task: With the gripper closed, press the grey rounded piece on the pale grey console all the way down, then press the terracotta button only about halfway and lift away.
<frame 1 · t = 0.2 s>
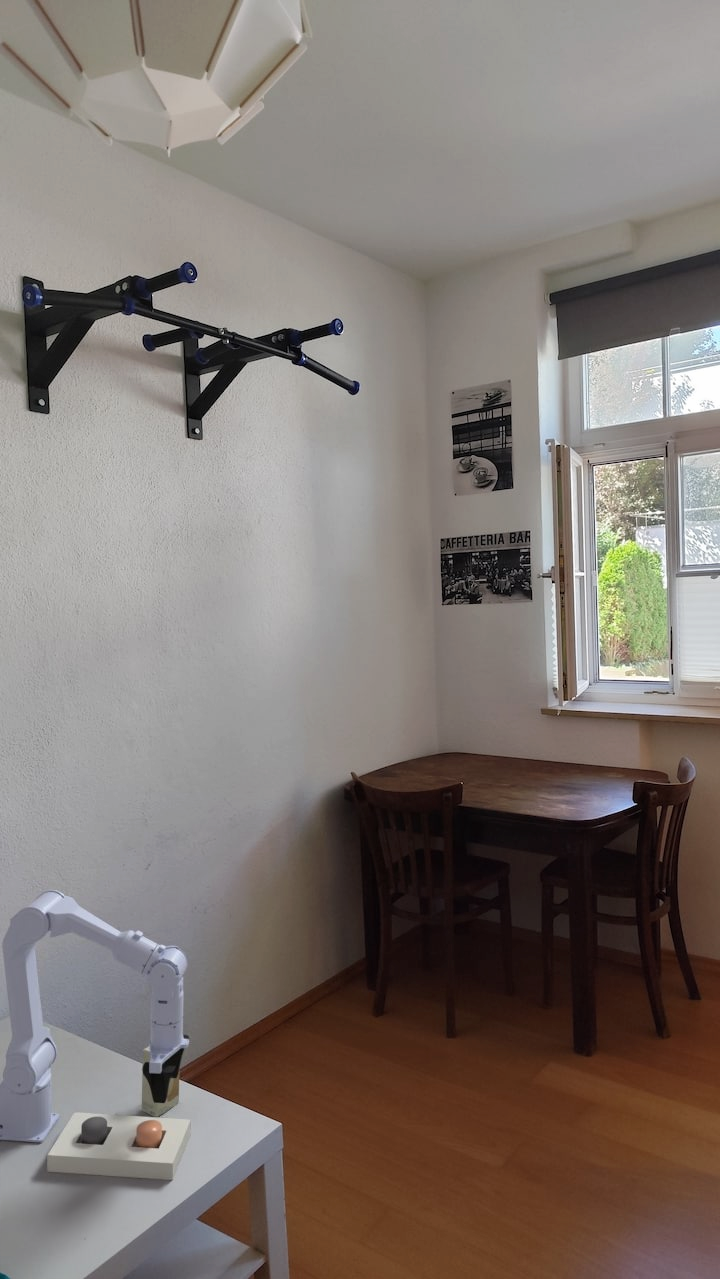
hand: (165, 1089, 156), 10 cm above the table, tool pointing down, fingers open, 7 cm apart
console: (121, 1152, 153), on the table
terracotta button: (149, 1135, 153), point 4 cm above the table, slide at 0.0 cm
grey rounded piece: (94, 1132, 153), point 4 cm above the table, slide at 0.0 cm
skincare box: (160, 1107, 167), on the table
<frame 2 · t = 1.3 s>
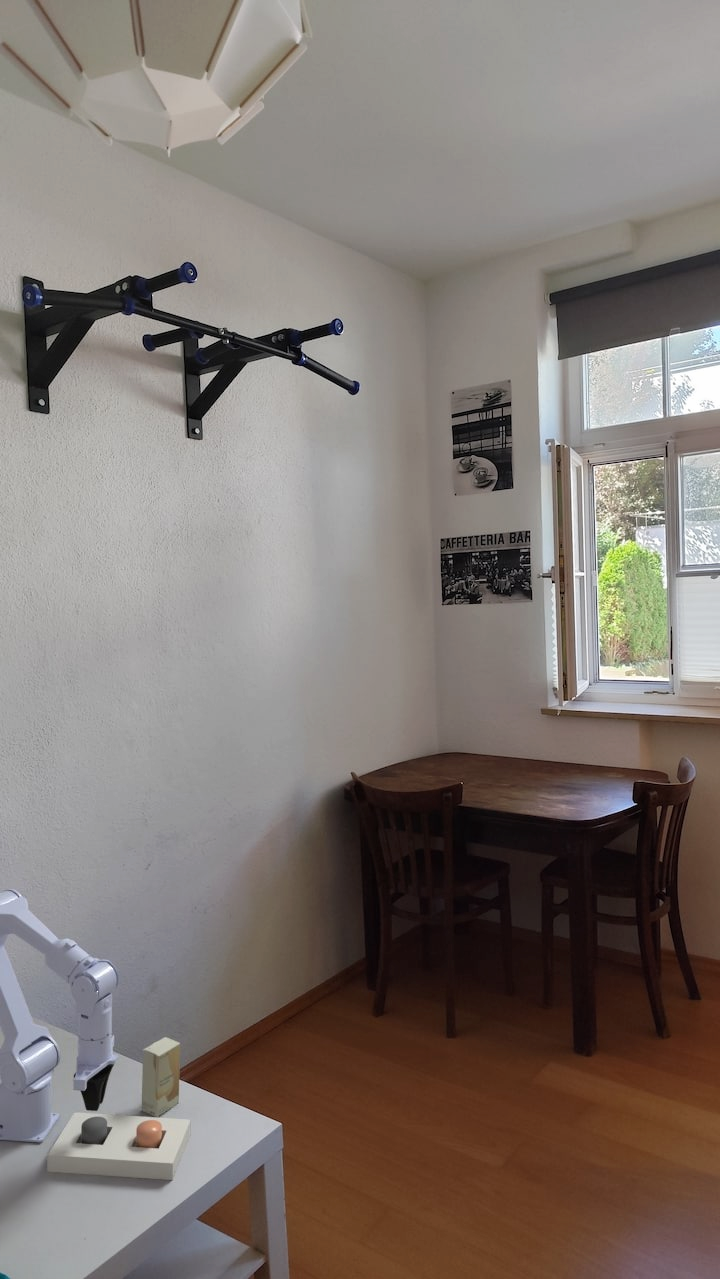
hand: (94, 1105, 153), 8 cm above the table, tool pointing down, fingers closed
nothing on the table moved.
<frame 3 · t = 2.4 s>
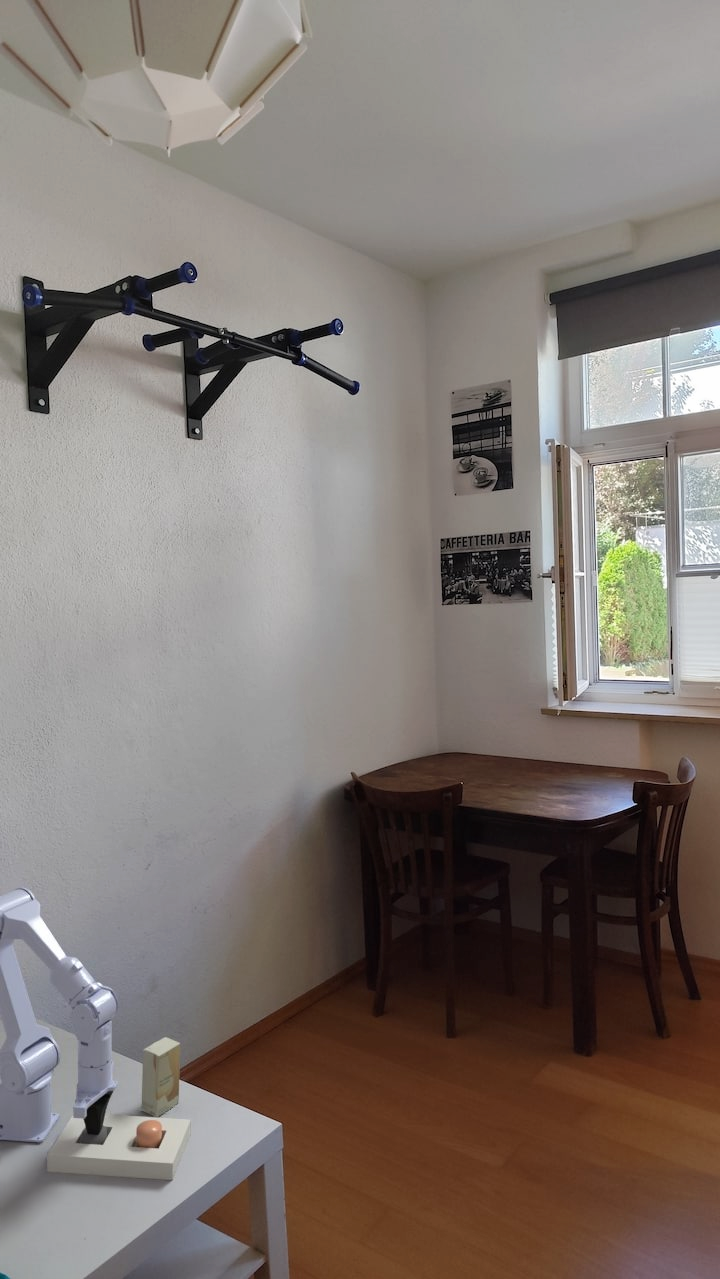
hand: (94, 1132, 153), 3 cm above the table, tool pointing down, fingers closed, pressing on grey rounded piece
grey rounded piece: (94, 1140, 153), point 2 cm above the table, slide at 1.5 cm, touching gripper
everything else where it was.
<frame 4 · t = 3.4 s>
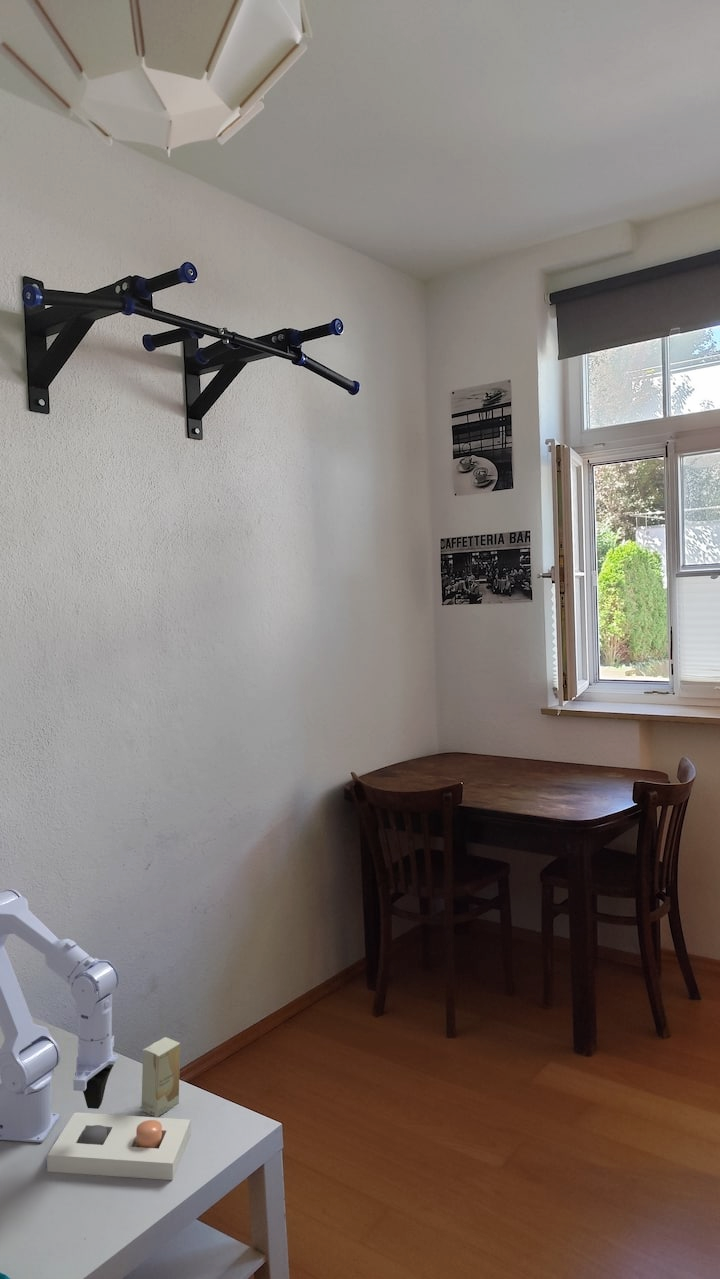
hand: (94, 1106, 153), 8 cm above the table, tool pointing down, fingers closed
grey rounded piece: (94, 1140, 153), point 2 cm above the table, slide at 1.6 cm
everything else where it was.
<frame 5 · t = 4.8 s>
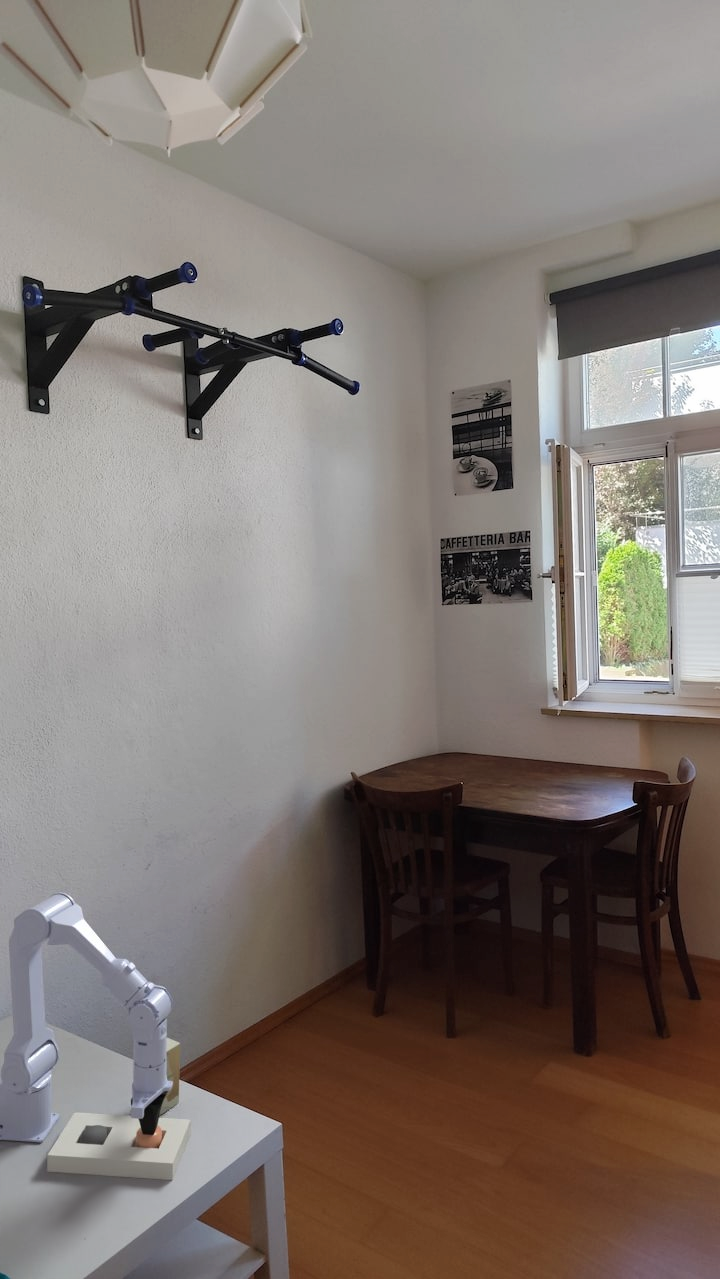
hand: (149, 1132, 153), 4 cm above the table, tool pointing down, fingers closed, pressing on terracotta button
terracotta button: (149, 1140, 153), point 3 cm above the table, slide at 0.8 cm, touching gripper
everything else where it was.
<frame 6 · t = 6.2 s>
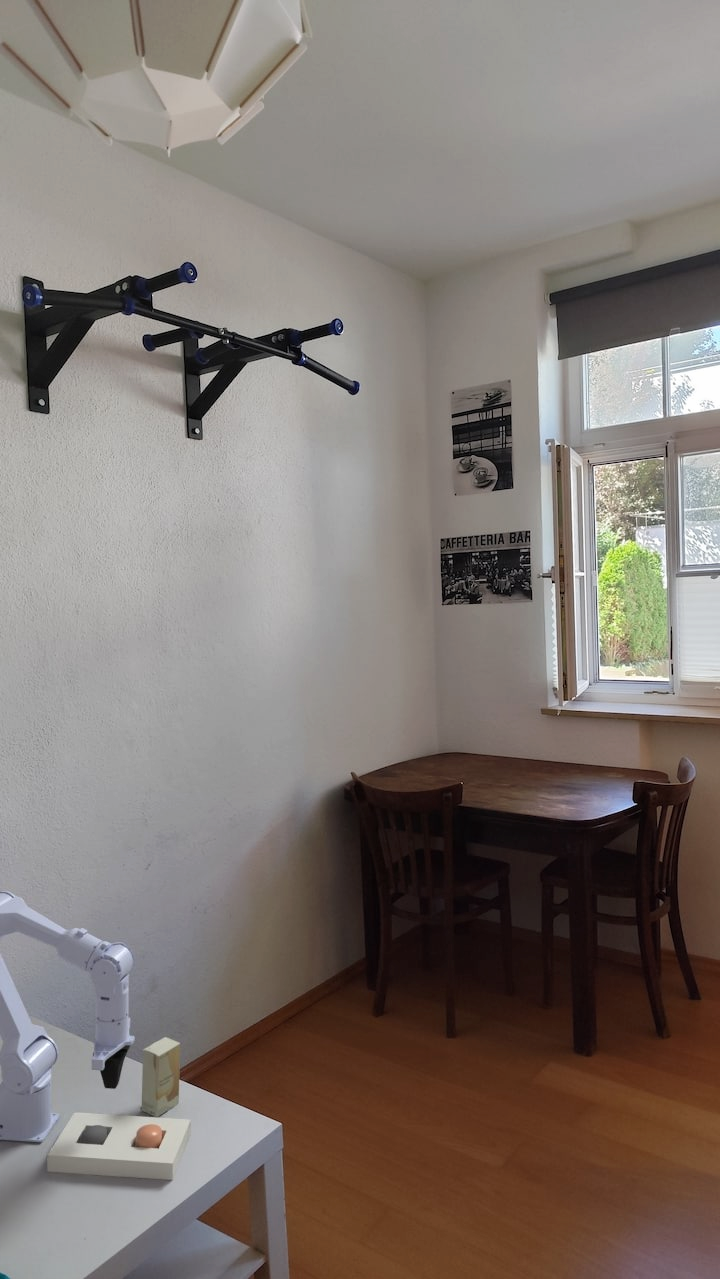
hand: (111, 1086, 156), 10 cm above the table, tool pointing down, fingers closed
terracotta button: (149, 1140, 153), point 3 cm above the table, slide at 0.8 cm
everything else where it was.
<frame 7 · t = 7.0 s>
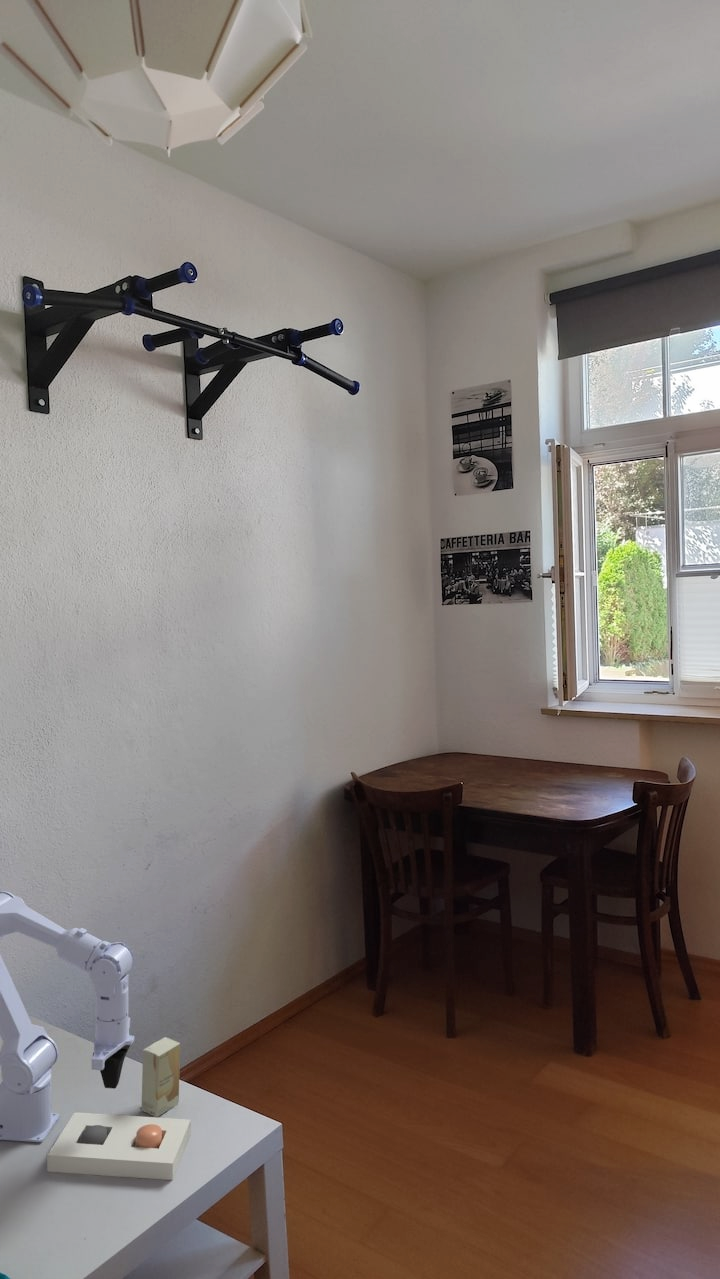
hand: (111, 1086, 156), 10 cm above the table, tool pointing down, fingers closed
nothing on the table moved.
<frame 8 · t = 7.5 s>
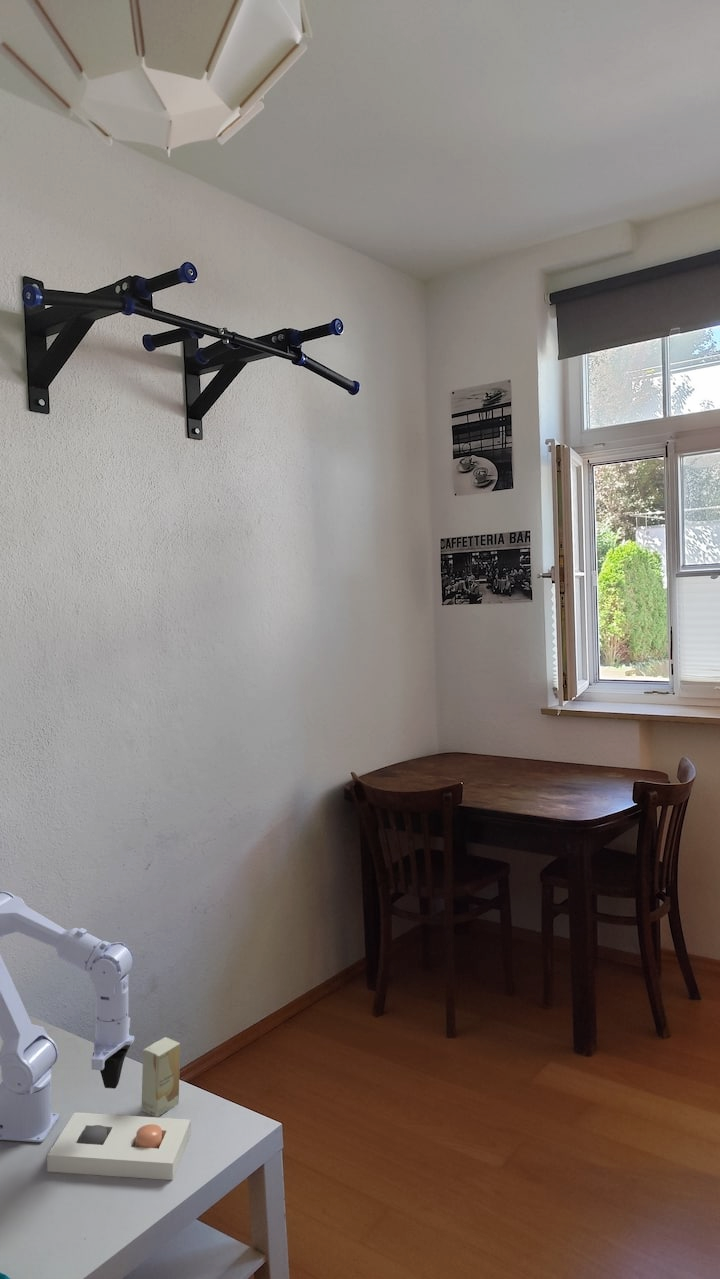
hand: (111, 1086, 156), 10 cm above the table, tool pointing down, fingers closed
nothing on the table moved.
at the end: grey rounded piece slide at 1.6 cm; terracotta button slide at 0.8 cm; skincare box moved 0.2 cm from its start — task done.
